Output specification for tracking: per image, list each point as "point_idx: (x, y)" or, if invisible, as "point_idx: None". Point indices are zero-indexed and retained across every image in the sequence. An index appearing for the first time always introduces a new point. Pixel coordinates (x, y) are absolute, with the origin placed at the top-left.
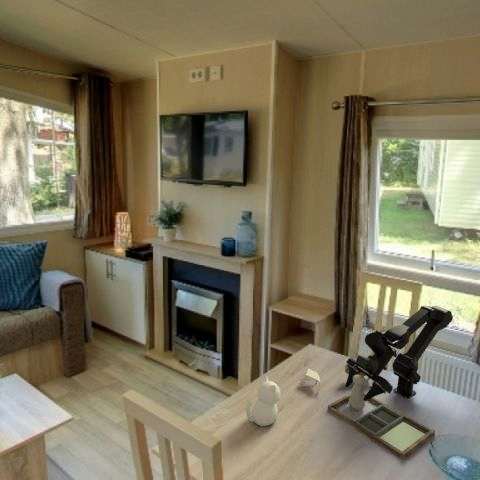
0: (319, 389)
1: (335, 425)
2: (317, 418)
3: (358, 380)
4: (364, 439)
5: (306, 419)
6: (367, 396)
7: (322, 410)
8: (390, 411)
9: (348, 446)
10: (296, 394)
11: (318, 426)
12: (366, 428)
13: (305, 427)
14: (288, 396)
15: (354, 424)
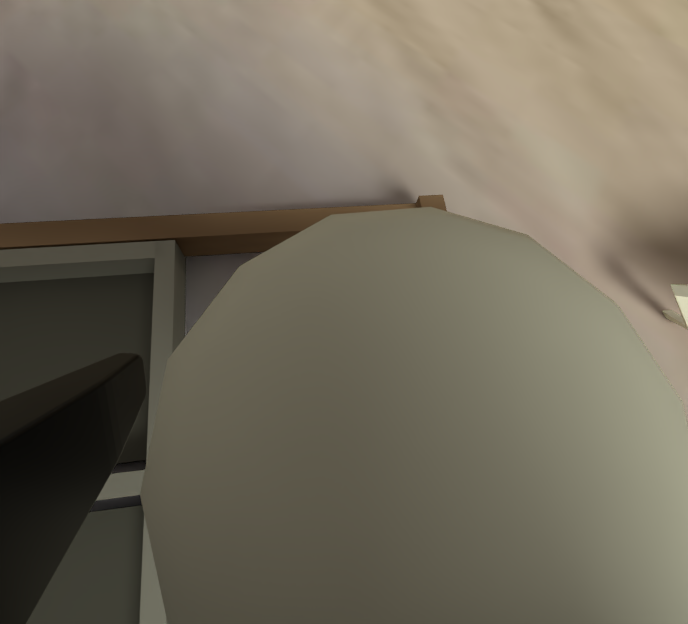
0: (678, 284)
1: (262, 151)
2: (383, 111)
3: (287, 241)
4: (18, 203)
5: (407, 59)
6: (45, 392)
7: (442, 192)
8: None
9: (63, 77)
10: (676, 171)
11: (316, 68)
12: (30, 253)
13: (349, 14)
14: (664, 118)
15: (145, 219)
